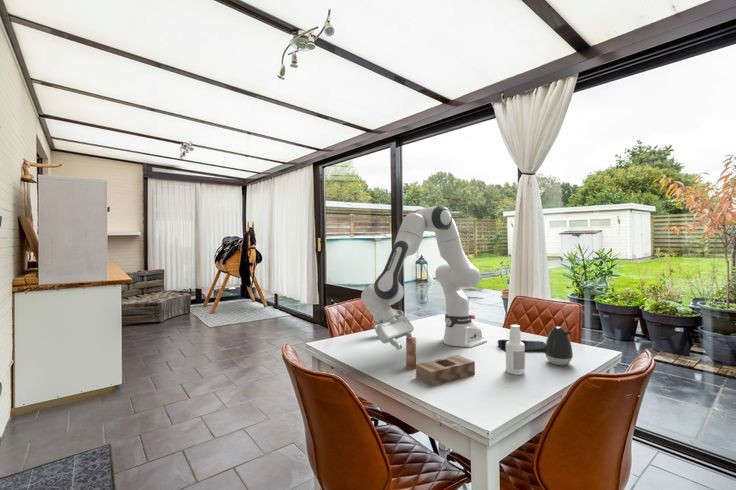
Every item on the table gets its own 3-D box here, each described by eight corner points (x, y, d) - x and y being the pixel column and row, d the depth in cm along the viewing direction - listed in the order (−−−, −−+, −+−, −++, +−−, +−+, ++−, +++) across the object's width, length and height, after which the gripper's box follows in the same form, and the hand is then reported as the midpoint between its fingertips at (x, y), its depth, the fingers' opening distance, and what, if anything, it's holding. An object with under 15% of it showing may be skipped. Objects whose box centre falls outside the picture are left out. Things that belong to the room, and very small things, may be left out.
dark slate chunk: (553, 354, 157) (553, 344, 157) (502, 353, 160) (502, 342, 160) (541, 344, 172) (541, 334, 172) (495, 343, 175) (494, 333, 175)
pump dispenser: (564, 369, 137) (564, 331, 137) (539, 362, 146) (539, 325, 146) (578, 364, 143) (578, 327, 143) (553, 357, 152) (553, 322, 151)
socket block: (458, 367, 141) (457, 354, 141) (474, 374, 134) (474, 361, 133) (416, 377, 131) (415, 364, 131) (431, 386, 123) (431, 372, 123)
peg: (412, 365, 144) (412, 336, 144) (418, 368, 141) (418, 338, 140) (404, 367, 142) (404, 337, 142) (410, 370, 139) (409, 340, 138)
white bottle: (523, 376, 131) (523, 328, 131) (504, 373, 135) (504, 326, 135) (526, 370, 137) (525, 324, 137) (507, 367, 141) (507, 322, 140)
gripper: (376, 318, 139) (396, 347, 133) (404, 310, 155) (423, 335, 149) (367, 328, 142) (387, 357, 136) (396, 318, 158) (414, 344, 152)
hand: (406, 345), depth 142 cm, fingers open, 8 cm apart
